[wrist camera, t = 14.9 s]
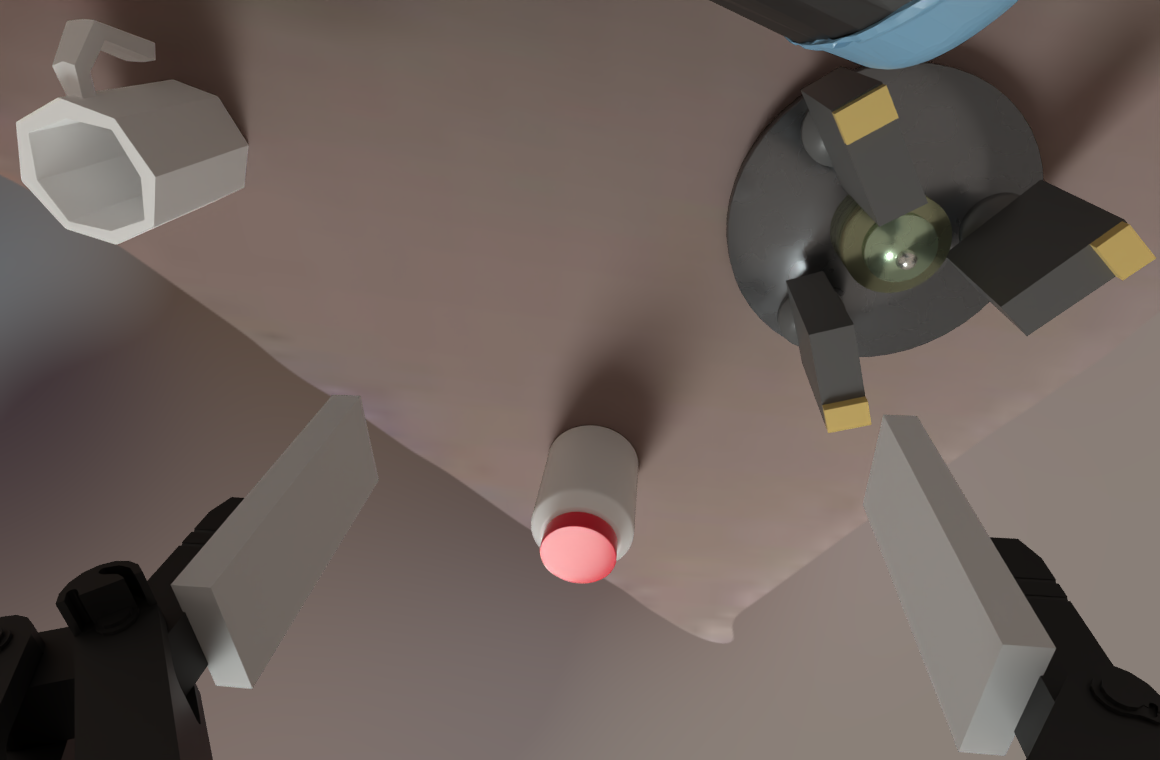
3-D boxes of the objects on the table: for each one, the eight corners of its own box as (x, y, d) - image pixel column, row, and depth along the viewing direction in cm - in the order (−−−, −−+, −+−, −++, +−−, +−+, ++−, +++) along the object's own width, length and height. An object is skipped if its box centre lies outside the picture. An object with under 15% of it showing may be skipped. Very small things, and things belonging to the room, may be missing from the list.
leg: (970, 285, 44) (1043, 353, 35) (929, 240, 43) (994, 298, 34) (1066, 215, 41) (1169, 270, 33) (1024, 164, 40) (1120, 208, 32)
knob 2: (768, 279, 45) (792, 344, 37) (836, 262, 44) (876, 324, 36) (786, 360, 48) (811, 437, 40) (849, 346, 47) (889, 422, 39)
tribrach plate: (738, 64, 41) (751, 74, 35) (1074, 57, 39) (1149, 67, 33) (716, 344, 50) (723, 390, 44) (986, 351, 48) (1031, 400, 42)
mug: (264, 201, 49) (178, 244, 40) (156, 203, 50) (50, 245, 41) (212, 13, 43) (99, 16, 34) (90, 20, 44) (-48, 25, 35)
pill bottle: (646, 434, 55) (642, 524, 45) (629, 506, 59) (622, 603, 49) (553, 417, 55) (529, 504, 45) (543, 489, 59) (519, 584, 49)
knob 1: (894, 155, 41) (953, 195, 32) (823, 191, 42) (862, 240, 34) (855, 55, 38) (908, 70, 30) (781, 97, 40) (812, 123, 31)
